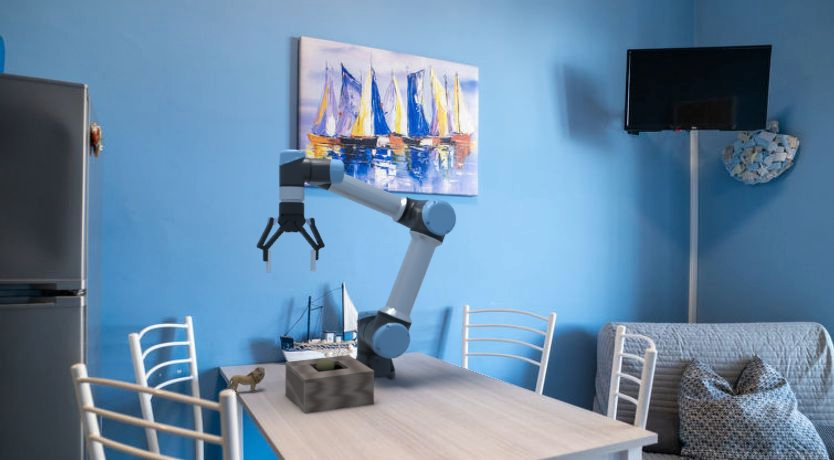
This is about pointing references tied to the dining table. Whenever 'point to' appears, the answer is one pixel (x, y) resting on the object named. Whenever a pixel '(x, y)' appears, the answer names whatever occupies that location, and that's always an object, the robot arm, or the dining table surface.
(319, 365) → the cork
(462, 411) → the dining table surface
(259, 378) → the lion figurine
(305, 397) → the walnut box
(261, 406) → the dining table surface
